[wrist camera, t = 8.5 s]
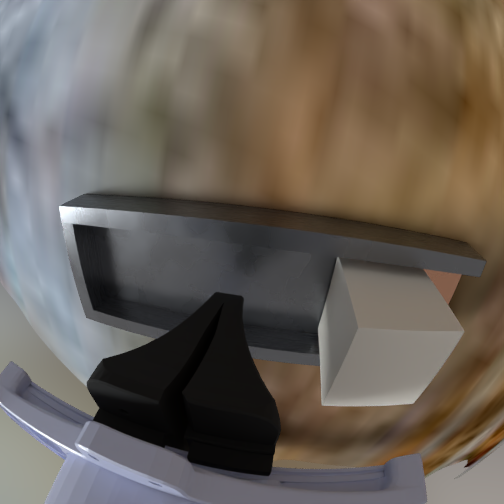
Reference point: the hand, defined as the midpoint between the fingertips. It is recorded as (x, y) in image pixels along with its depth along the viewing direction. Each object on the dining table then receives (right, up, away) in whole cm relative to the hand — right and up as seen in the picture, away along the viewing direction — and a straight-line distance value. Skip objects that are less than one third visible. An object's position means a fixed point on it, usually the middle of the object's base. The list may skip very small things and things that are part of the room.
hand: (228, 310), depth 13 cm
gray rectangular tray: (+2, +1, +3) cm, 4 cm away
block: (+8, 0, +2) cm, 8 cm away
